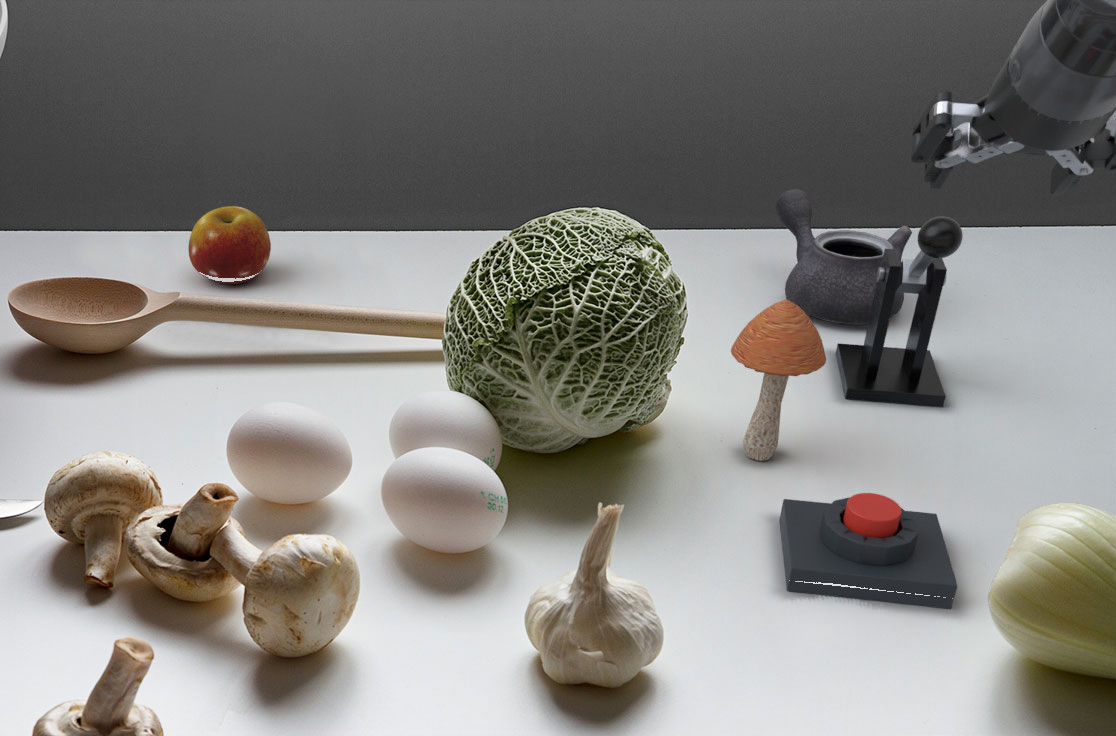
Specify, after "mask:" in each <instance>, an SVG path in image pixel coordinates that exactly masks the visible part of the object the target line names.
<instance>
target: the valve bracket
mask: <svg viewBox="0 0 1116 736" xmlns="http://www.w3.org/2000/svg"><path fill="white" fill-rule="evenodd" d="M947 271H948V269H947V266H946V264H945V262H944V258H934V260H933V261H932V262H931V263H930V265H929V266H928V267H927V282H926V285H925V286H924V288H923V289H922V290H921V292H920V293H919V294H917V299H916V303H915V307H914V311H913V316H912V320H911V324H910V328H909V332H908V336H907V339H906V344H905V348H903V347H889V346H885V342H886V337H887V333H888V328H889V324H890V319H891V318H890V316H891V311H892V307H893V302H894V298H895V294H896V289H897V285H898V280H899V276H900V272H901V264H900V261H899V258H898V255H897V253H896V250H895V249H885V250H884V254H883V259H882V263H881V267H879V268H878V271H877V286H876V291H875V295H874V300H873V304H872V309H871V314H870V318H869V323H867V327H866V332H865V336H864V342H863V344H851V343H850V344H849V343H839V342H838V343H837V345H836V349H835V357H836V362H837V367H838V371H839V376H840V381H841V385H842V390H843V394H844V399H845V400H855V401H865V402H877V403H879V402H880V403H888V404H903V405H913V406H915V405H917V406H924V407H925V406H926V407H939V408H943V407H944V405H945V401H946V397H947V396H946V392H945V390H944V387H943V383H942V381H941V378H940V376H939V372H938V369H937V367H936V364H935V362H934V359H933V355H932V353H931V350H929V349H928V348H929V344H930V340H931V336H932V332H933V329H934V325H935V320H936V316H937V311H938V307H939V303H940V301H941V296H942V291H943V288H944V286H945V285H946V281H947Z"/></svg>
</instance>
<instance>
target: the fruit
mask: <svg viewBox="0 0 1116 736" xmlns="http://www.w3.org/2000/svg"><path fill="white" fill-rule="evenodd" d="M271 251H272V243H271V237H270V234H269V231H268V229H267V226H266V225H265V223H264V221H262V219H261V218H260V217H259V216H258V215H257V214H256V213H255V212H253V211H251V210H250V209H248V208H245V207H241V206H237V205H233V206H230V205H229V206H222V207H217V208H215V209H212V210H210V211H208V212H206V213H205V214H203V216H201V217H200V218H199V219H198V220H197V221H196V223H195V224H194V226H193V228H192V230H191V233H190V236H189V240H188V257H189V261H190V263H191V265H192V267H193V268H194V270H195V271H196V270H197V271H196V272H197V273H199V272H201V273H203V274H205V275H209V276H212V277H218V278H235V279H236V278H245V277H249V276H252V275H255V274H257V273H259V272H260V271H261V270H262V271H263V270H264V269H265V268H266V266H267V264H268V262H269V260H270V256H271ZM262 271H261V272H262ZM261 272H260V273H261ZM260 273H259V274H260ZM257 276H258V275H256V276H255V277H253V278H250V279H246V280H242V281H234V282H222V281H215V280H211V279H209V280H210V281H212V282H215V283H219V284H225V285H238V284H243V283H247V282H249V281H251V280H254V279H255V278H256V277H257Z"/></svg>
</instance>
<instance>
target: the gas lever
mask: <svg viewBox="0 0 1116 736" xmlns="http://www.w3.org/2000/svg"><path fill="white" fill-rule="evenodd" d="M963 235H964V234H963V230H962V228H961V225H960V224H959V223H958V222H957V221H956V220H955V219H953V218H951V217H948V216H935V217H932V218H930V219H928V220H927V221H925V222H924V224H923V225H922V226H921V227H920V229H919V231H918V234H917V244H918V248H919V252H918V253H917V255H916V256H915V258H914V259H913V258H912V259H911V258H903V259H902V260H901V263H900V264H901V272H900V276H899V280H898V285H897V289H896V292H897V293H904V294H913V295H918V294H919V293H920V292H921V290H922V289H923V288H924V286H925V285H926V282H927V267H928V266H929V265H930V263H931V262H932V261H933V260H934V258H942V259H945V258H947V257H950V256H952V255H953V254H955V253H956V252H957V251H958V250H959V248H960V247H961V244H962V242H963V238H964V237H963Z"/></svg>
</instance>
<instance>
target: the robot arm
mask: <svg viewBox="0 0 1116 736" xmlns="http://www.w3.org/2000/svg"><path fill="white" fill-rule="evenodd" d="M1105 130H1108V131H1109V132H1108V134H1107V135H1106V137H1105V140H1104V141H1095V138H1096V137H1098V136H1099V135H1101V134H1102V133H1103V132H1104V131H1105ZM981 139H982V140H983V141H984V143H981ZM958 140H959V145H958V147H957V148H956V149H955V142H956V141H958ZM911 149H912V150H911V154H910V161H911V162H912V163H914V164H924V174H923V179H924V182H925V183H929V184H930V185H929V187H930V189H936V190H937V189H939V190H941V189H942V188H943V186H944V184H945V183H946V181H947V179H948V178H949V176H950V175H951V173H952V171H953V170H954V166H957V165H958V164H962V163H964V162H968V163H971V164H978V163H980V162H983V161H985V160H989V159H992V158H993V157H995V156H998V155H1001V154H1004V155H1005V154H1006V155H1011V154H1012V155H1014V154H1015V155H1016V154H1025V155H1030V156H1042V157H1043V156H1046V154H1047V155H1048V156H1052V157H1053V158H1054V160H1056V163H1055V164H1054V165H1053V166H1052V169H1051V174H1050V188H1049V189H1050V195H1052V196H1053V195H1055V196H1063V194H1065V192H1066V191H1067V190H1072V189H1074V188H1075V187H1076V186H1078V184H1079V183H1080V182H1081V180H1083V178H1084V177H1085V176H1088V175H1090V174H1092V173H1093V172H1094V169H1099V168H1104V171H1105V172H1106V173H1111V174H1113V173H1116V0H1046V1H1045V2H1044V4H1042V5H1041V6H1040V8H1039V9H1037V11H1036V12H1035V13H1034V15H1033V16H1032V17H1031V19H1030V20H1029V22H1027V25H1026V26H1025V28H1024V31H1022V33H1021V35H1020V37H1019V38H1018V41H1016V43H1015V45H1014V47H1013V48H1012V50H1011V52H1010V54H1009V55H1008V57H1007V59H1006V60H1005V62H1004V64H1003V65H1002V66H1001V69H1000V70H999V72H998V74H997V75H996V77H995V79H994V81H993V82H992V85H991V88H990V90H989V91H988V93H987V94H986V95H984V96H981V98H979V99H977V100H976V101H975V102H974V103H962V102H954V93H953V92H951V91H948V90H947V91H946V90H943V91H942V90H941V91H939V92H937V93H935V94H934V95H933V97H932V99H931V100H930V101H929V103H928V105H927V106H926V108H925V109H924V111H923V112H922V114H921V116H920V117H919V119H918V120H917V122H916V123H915V125H914V126H913V128H912V148H911Z"/></svg>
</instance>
